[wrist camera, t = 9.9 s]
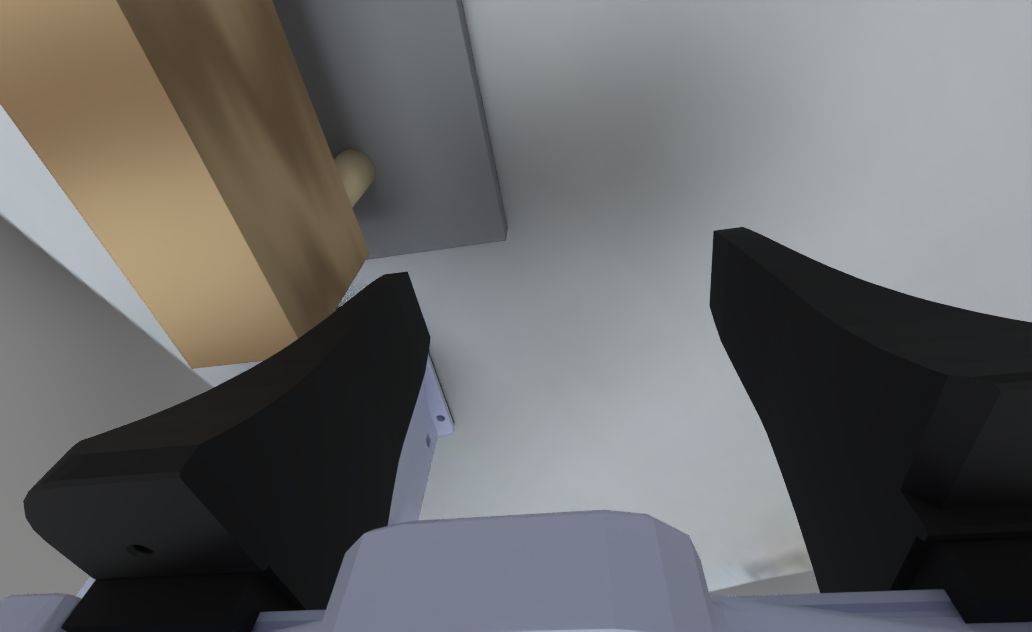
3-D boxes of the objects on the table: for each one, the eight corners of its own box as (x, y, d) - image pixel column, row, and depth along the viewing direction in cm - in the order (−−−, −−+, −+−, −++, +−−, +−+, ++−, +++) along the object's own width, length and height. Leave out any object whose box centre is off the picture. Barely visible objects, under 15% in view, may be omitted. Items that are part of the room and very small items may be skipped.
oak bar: (369, 253, 19) (307, 355, 14) (281, 265, 19) (191, 368, 14) (150, -313, 11) (-175, -539, 6) (12, -266, 11) (-393, -440, 6)
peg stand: (507, 228, 22) (500, 275, 19) (245, 265, 24) (196, 314, 21) (373, -433, 12) (307, -586, 9) (-59, -284, 14) (-252, -363, 11)
